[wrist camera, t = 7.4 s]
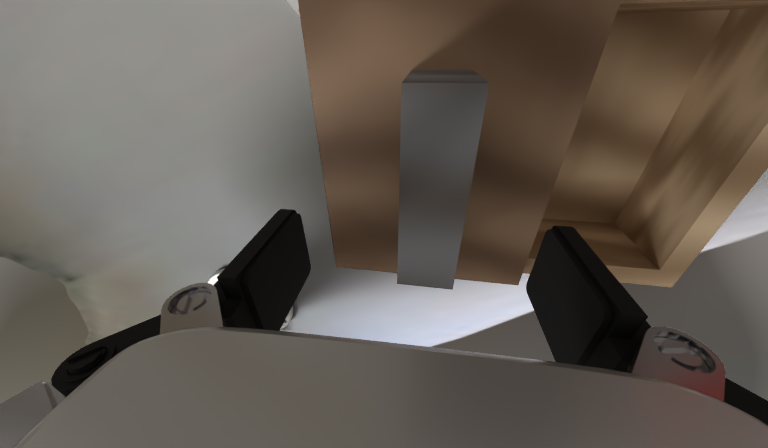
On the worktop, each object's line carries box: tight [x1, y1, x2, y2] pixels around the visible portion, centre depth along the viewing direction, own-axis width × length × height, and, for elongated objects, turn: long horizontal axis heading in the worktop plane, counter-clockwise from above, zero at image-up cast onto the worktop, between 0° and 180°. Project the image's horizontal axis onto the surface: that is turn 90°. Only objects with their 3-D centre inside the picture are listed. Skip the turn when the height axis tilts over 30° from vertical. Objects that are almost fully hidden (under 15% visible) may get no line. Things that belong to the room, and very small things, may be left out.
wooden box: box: [523, 0, 768, 287], centre depth 19 cm, size 18×14×7 cm
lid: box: [298, 0, 621, 289], centre depth 15 cm, size 18×14×6 cm
